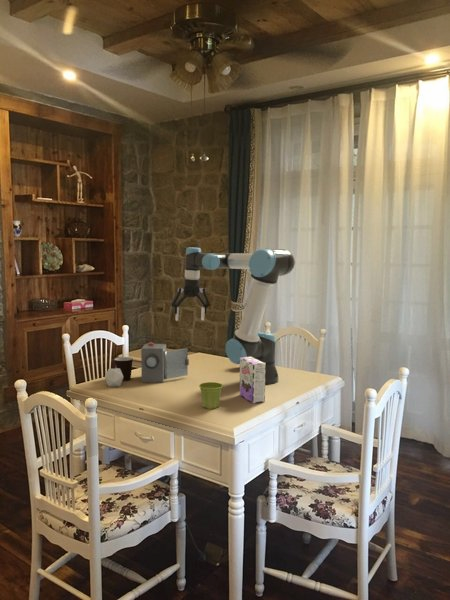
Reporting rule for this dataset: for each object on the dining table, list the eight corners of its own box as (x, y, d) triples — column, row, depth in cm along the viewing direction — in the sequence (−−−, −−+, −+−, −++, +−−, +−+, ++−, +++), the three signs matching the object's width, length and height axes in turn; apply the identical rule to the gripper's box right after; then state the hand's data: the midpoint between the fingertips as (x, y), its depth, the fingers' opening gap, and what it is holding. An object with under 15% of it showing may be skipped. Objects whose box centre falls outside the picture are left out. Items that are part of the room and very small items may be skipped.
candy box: (238, 394, 218) (239, 357, 217) (251, 393, 221) (251, 356, 219) (252, 403, 206) (252, 363, 204) (265, 402, 208) (266, 362, 206)
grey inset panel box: (162, 383, 236) (162, 347, 235) (140, 383, 237) (140, 347, 235) (166, 376, 251) (166, 341, 249) (145, 375, 251) (145, 341, 249)
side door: (165, 379, 238) (165, 352, 236) (163, 378, 239) (162, 351, 238) (188, 375, 246) (188, 348, 245) (186, 374, 247) (186, 348, 246)
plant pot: (223, 410, 197) (223, 388, 197) (199, 410, 197) (199, 388, 196) (222, 403, 207) (222, 382, 206) (198, 403, 206) (198, 382, 205)
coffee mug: (130, 381, 239) (130, 360, 238) (112, 381, 239) (112, 360, 238) (135, 375, 251) (135, 355, 250) (118, 375, 251) (118, 355, 250)
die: (125, 384, 237) (113, 367, 238) (129, 379, 230) (118, 361, 231) (110, 393, 232) (98, 375, 234) (114, 388, 225) (102, 370, 227)
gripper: (212, 278, 262) (210, 318, 266) (165, 277, 253) (163, 319, 256) (218, 279, 255) (215, 321, 259) (169, 279, 246) (167, 322, 249)
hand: (189, 320), depth 258 cm, fingers open, 13 cm apart
